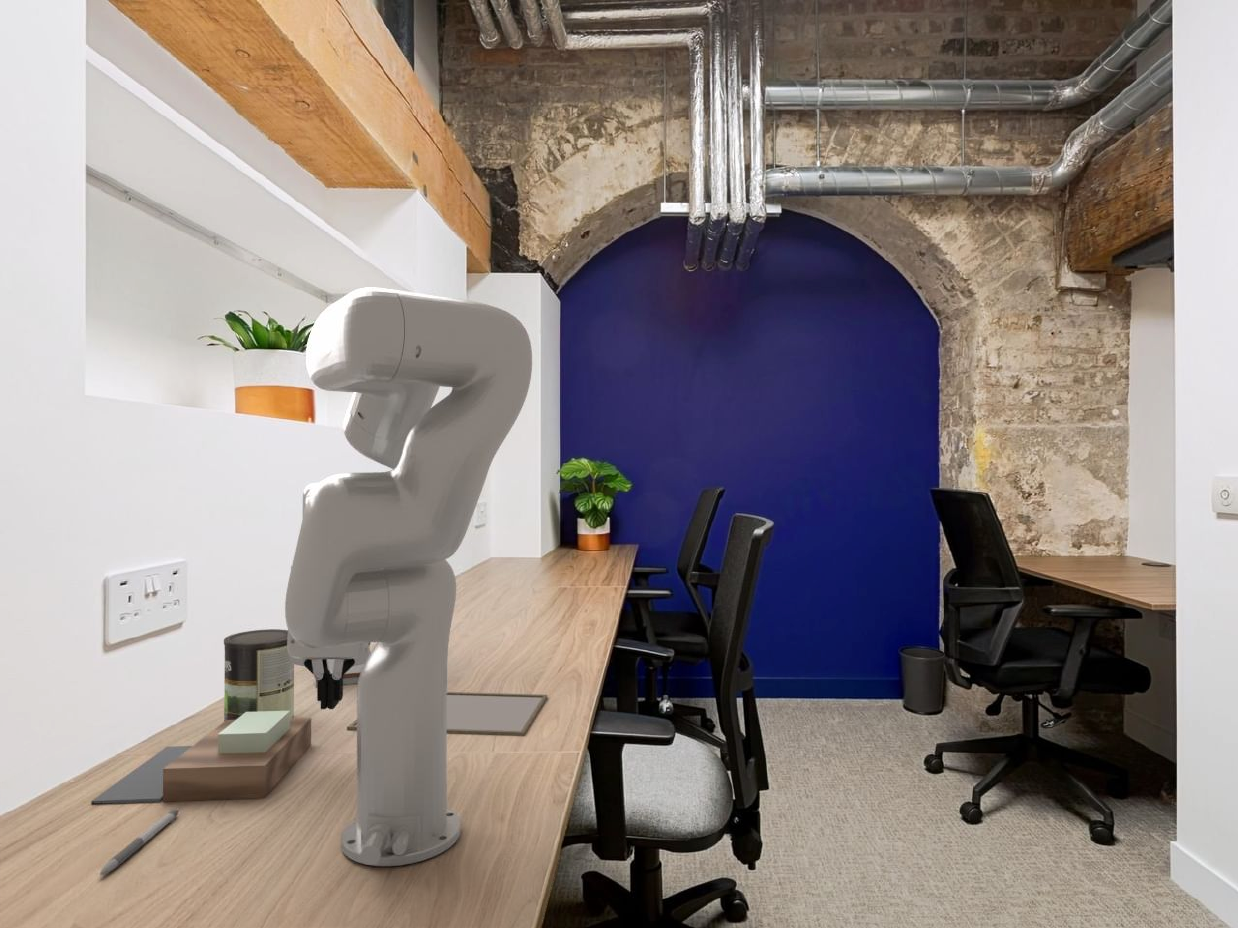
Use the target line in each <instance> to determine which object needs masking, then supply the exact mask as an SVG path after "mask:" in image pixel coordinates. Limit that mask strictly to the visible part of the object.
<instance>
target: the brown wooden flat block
mask: <svg viewBox="0 0 1238 928" xmlns="http://www.w3.org/2000/svg"><path fill="white" fill-rule="evenodd" d="M234 721H235V720H226V721H225V722H224V721H223V722H222V723H221V724H220V725H217V727H215V728H214V729H213V730H211V731H210V732H209V733H207V735H205V736H204V737H202V738H201V739H200V740H198V741H197V742H196V743H195V744H194V745H191V746H192V747H191V748H189V749H188V750H187V751H186V752H184V753H183V754H182V755H180V756H179V757H178V758H176V759H175V760H174V761H173V762H171V763H170V764H169V765H167V766H166V767H165V768H163V800H162V803H163V802H189V801H191V802H192V801H214V800H217V801H219V800H220V801H221V800H238V799H239V800H241V799H242V800H244V799H265V798H266V797H267V796H268V795H269V794H270V793H271V791H273V789H274V788H275V787H276V785H278V784H279V783H280V781H281V780H282V779H283V777H284V776H286V774H287V773H288V772H289V771H290V770H291V769H292V768H293V766H294V765H295V764H296V763H297V762H298V761H299V760H300V758H302V756H303V755H304V754H305V753H306V752H307V751H308V749H309V748H310V747H311V746H312V717H294V718H290V729H289V730H288V731H287V732H286V733H285V734H284V735H283V736H282V737H281V738H280V739H279V740H278V741H277V742H276V743H275V744H274V745H273V746H272V747H271V748H270V749H269V750H268V751H267V752H258V753H226V754H218V734H219V733H220V732H221V731H223V730H224V729H225V728H226V727H228V726H229V725H230V724H231V723H233V722H234Z"/></svg>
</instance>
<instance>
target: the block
mask: <svg viewBox="0 0 1238 928" xmlns="http://www.w3.org/2000/svg"><path fill="white" fill-rule="evenodd" d="M289 729H290V711H261V712H245V713H244V714H243V715H242V716H240V717H239V718H238V719H236V720H235V721H234V722H233V723H231V724H230V725H229V726H228V727H226V728H225V729H224V730H223V731H221V732H220V733H219V734H218V754H226V753H258V752H267V751H268V750H269V749H270V748H271V747H272V746H273V745H274V744H275V743H276V742H277V741H278V740H279V739H280V738H281V737H282V736H283V735H284V734H285V733H286V732H287V731H288V730H289Z"/></svg>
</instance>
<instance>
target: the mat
mask: <svg viewBox="0 0 1238 928" xmlns="http://www.w3.org/2000/svg"><path fill="white" fill-rule="evenodd" d="M192 746H193V745H178V746H177V745H176V746H175V745H173V746H166V747H164V748H163V749H161V750H160V751H159V752H157V753H155V755H153V756H152V757H150V758H149V759H147V760H146V761H145V762H144V763H142V764H141V765H139V766H138V767H136V768H135V769H133V770H132V771H131V772H129V773H128V774H127V775H124V777H122V778H121V779H120V780H118V781H117V782H116V783H114V784H113V785H111V786H110V787H108V788H107V789H106V790H104V791H103V792H101V793H100V794H99V795H97V796H96V797H95V798H93V799H91V800H90V804H91V803H99V804H98V805H101V804H100V803H103V804H104V803H105V804H104V805H106V803H107V805H109V804H110V803H112V804H132V803H133V804H134V803H135V804H136V803H159V802H160V803H161V802H163V768H165V767H166V766H167V765H169V764H170V763H171V762H173V761H174V760H175V759H176V758H178V757H179V756H180V755H182V754H183V753H184V752H186V751H187V750H188V749H189V748H191V747H192ZM108 803H109V804H108ZM103 804H102V805H103Z"/></svg>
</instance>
